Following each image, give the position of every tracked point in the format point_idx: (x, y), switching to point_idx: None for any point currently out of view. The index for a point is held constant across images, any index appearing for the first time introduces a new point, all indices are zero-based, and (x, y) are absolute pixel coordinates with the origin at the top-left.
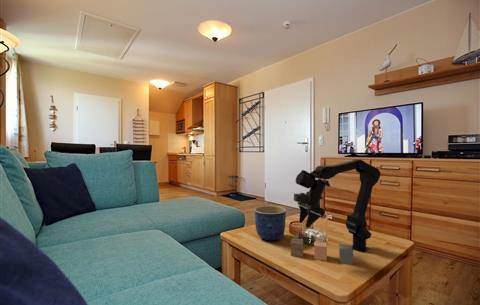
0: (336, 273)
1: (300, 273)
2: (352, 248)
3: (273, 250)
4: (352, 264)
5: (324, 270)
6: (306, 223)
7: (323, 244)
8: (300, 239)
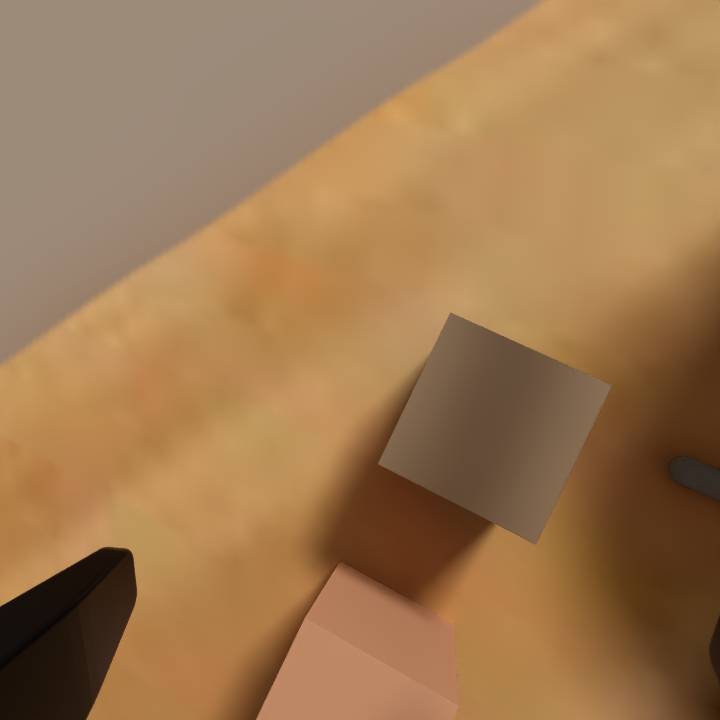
0: None
1: (111, 315)
2: None
3: (603, 175)
4: None
5: None
6: (35, 600)
7: None
8: (547, 504)
